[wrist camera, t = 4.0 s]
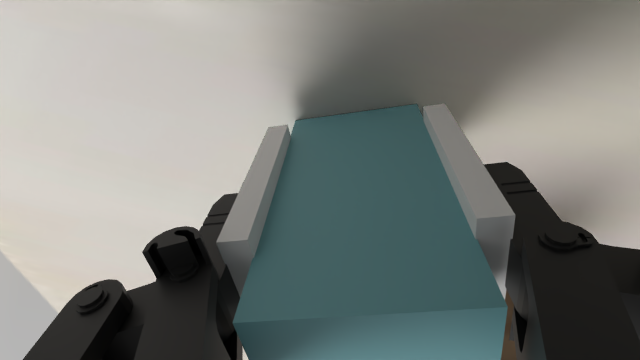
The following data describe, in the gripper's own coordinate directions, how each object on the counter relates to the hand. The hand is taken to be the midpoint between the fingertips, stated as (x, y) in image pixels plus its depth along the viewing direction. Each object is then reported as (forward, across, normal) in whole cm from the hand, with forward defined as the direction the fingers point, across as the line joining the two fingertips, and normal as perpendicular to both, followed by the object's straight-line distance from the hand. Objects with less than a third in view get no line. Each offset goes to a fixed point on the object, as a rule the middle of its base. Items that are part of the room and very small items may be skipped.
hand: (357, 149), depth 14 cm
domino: (+2, 0, 0) cm, 2 cm away
